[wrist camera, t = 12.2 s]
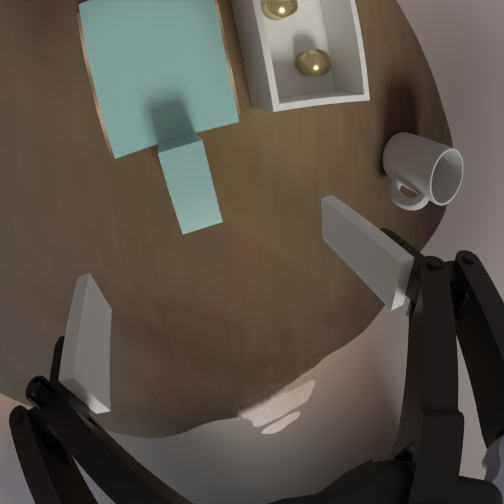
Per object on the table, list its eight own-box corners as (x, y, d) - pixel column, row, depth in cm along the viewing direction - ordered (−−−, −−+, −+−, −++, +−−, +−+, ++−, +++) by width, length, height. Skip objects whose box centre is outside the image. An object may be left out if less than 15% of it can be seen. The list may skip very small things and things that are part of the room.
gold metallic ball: (258, -2, 20) (267, -9, 18) (284, -3, 20) (295, -9, 18) (263, 21, 21) (272, 16, 19) (289, 20, 22) (300, 15, 20)
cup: (422, 150, 36) (469, 170, 28) (389, 204, 39) (432, 232, 31) (398, 120, 32) (449, 136, 25) (361, 180, 35) (408, 207, 28)
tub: (227, -15, 19) (244, -37, 14) (316, -15, 20) (347, -29, 16) (251, 107, 27) (273, 111, 22) (336, 95, 28) (369, 100, 23)
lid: (82, 8, 14) (65, -11, 10) (205, -24, 16) (218, -50, 11) (139, 220, 26) (137, 249, 22) (248, 186, 28) (268, 208, 23)
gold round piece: (292, 52, 24) (303, 49, 22) (317, 50, 24) (329, 49, 22) (297, 77, 25) (308, 76, 23) (320, 75, 26) (333, 74, 24)
